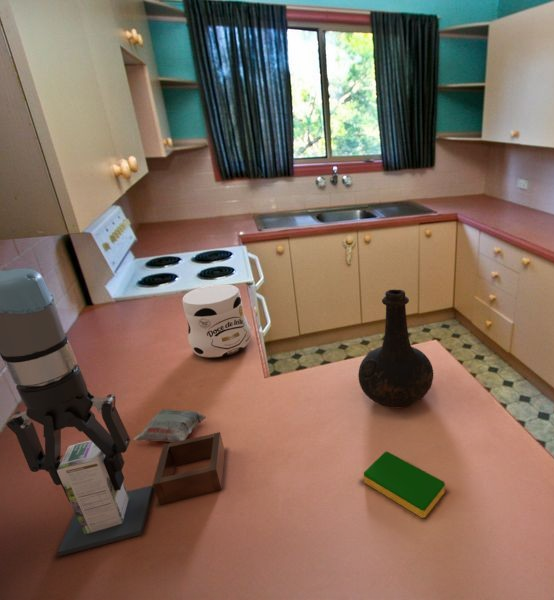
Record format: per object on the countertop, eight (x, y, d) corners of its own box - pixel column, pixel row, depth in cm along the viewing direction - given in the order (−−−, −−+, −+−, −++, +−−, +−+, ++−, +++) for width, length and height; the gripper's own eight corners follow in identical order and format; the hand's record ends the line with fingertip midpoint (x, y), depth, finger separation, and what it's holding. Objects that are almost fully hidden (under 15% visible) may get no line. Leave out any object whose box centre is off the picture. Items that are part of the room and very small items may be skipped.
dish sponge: (423, 519, 73) (423, 509, 72) (363, 482, 81) (362, 472, 80) (445, 492, 78) (445, 482, 77) (386, 459, 86) (386, 450, 85)
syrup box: (93, 508, 76) (65, 445, 70) (131, 498, 78) (106, 435, 72) (84, 535, 71) (53, 470, 65) (124, 524, 73) (97, 459, 67)
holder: (159, 504, 77) (152, 484, 75) (169, 463, 86) (163, 444, 84) (221, 489, 80) (216, 469, 78) (224, 450, 89) (220, 432, 87)
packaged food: (186, 451, 89) (180, 432, 87) (135, 447, 91) (128, 428, 89) (208, 424, 97) (204, 406, 95) (161, 420, 99) (155, 403, 97)
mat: (59, 556, 69) (56, 552, 68) (81, 506, 77) (79, 502, 77) (142, 534, 72) (140, 530, 71) (154, 489, 81) (152, 485, 80)
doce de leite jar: (235, 365, 120) (222, 307, 113) (179, 361, 123) (164, 305, 115) (262, 336, 136) (253, 283, 128) (213, 333, 138) (201, 281, 131)
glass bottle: (349, 388, 109) (340, 286, 97) (411, 368, 116) (409, 272, 105) (379, 429, 94) (372, 315, 83) (447, 404, 101) (449, 297, 90)
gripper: (126, 349, 68) (163, 459, 77) (-17, 372, 63) (41, 487, 72) (113, 374, 61) (155, 491, 71) (-48, 402, 56) (20, 524, 66)
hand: (97, 489), depth 72 cm, fingers closed on syrup box, 6 cm apart
